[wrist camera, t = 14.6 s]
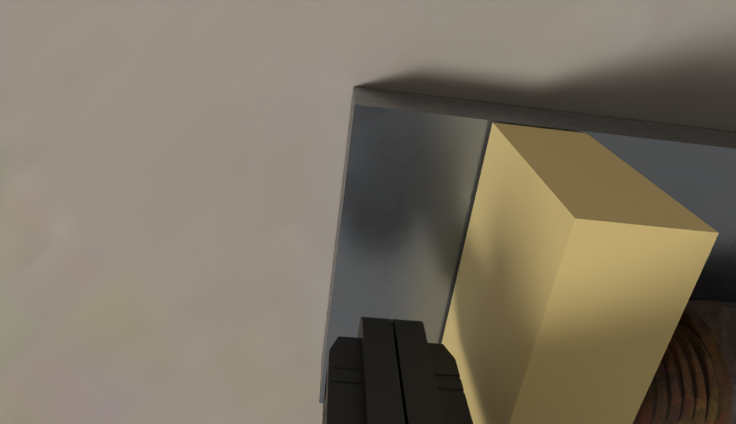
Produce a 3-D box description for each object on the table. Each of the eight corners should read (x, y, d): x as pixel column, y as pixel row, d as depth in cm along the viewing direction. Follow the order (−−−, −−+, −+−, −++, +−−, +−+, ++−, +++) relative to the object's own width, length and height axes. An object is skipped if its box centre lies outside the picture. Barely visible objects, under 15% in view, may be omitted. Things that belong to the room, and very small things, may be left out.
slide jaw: (498, 419, 18) (555, 593, 13) (425, 414, 18) (455, 589, 13) (586, 133, 14) (718, 233, 9) (492, 122, 14) (575, 218, 9)
